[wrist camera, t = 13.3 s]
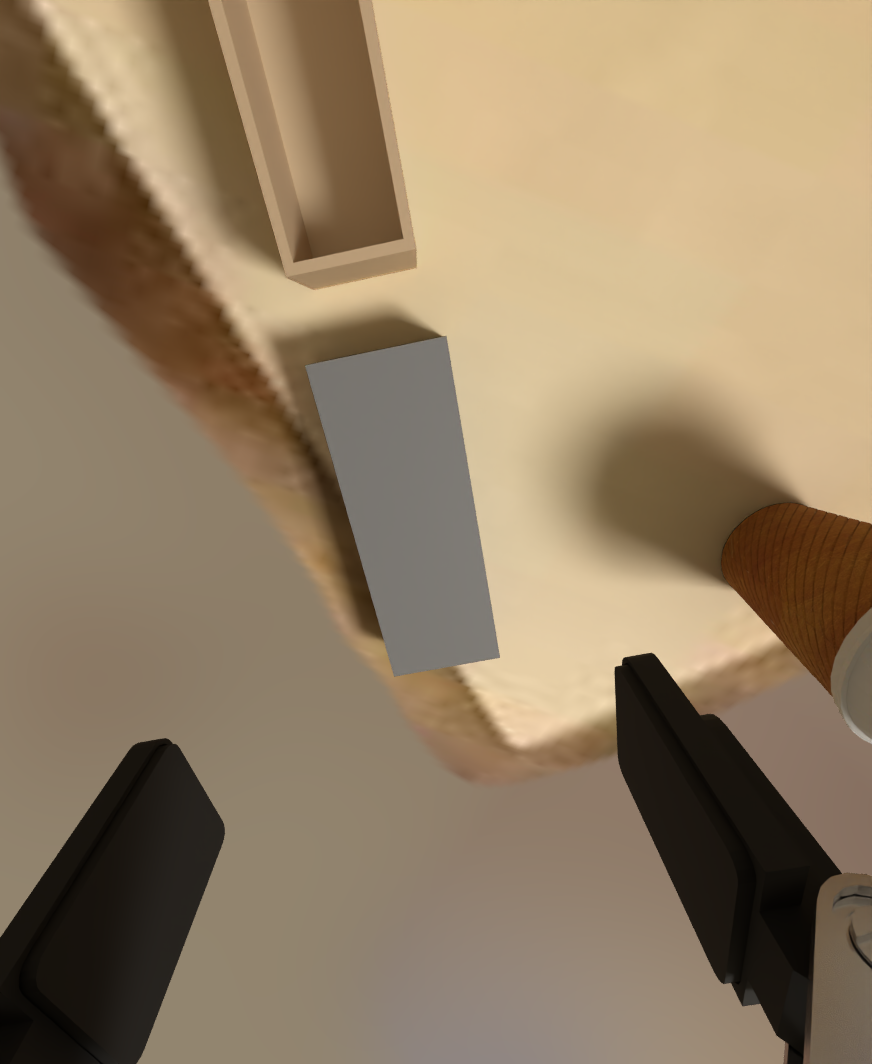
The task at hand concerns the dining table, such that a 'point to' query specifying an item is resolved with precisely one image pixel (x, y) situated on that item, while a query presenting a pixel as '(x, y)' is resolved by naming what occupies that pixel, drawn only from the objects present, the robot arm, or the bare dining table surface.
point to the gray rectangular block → (409, 500)
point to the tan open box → (320, 135)
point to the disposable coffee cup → (812, 595)
